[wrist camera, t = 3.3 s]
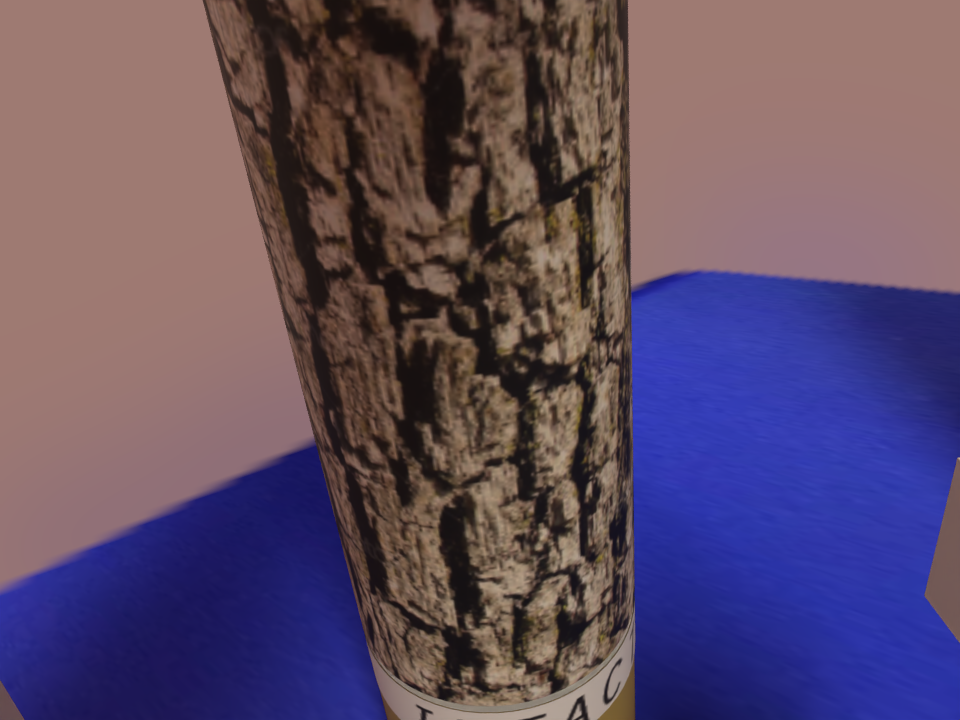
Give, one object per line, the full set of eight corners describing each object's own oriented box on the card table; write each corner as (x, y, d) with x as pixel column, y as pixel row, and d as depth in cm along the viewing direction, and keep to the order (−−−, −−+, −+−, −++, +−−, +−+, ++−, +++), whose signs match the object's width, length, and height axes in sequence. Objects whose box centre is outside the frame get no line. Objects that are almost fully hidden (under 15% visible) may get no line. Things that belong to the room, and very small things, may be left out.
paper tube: (367, 690, 28) (94, -332, 14) (565, 608, 30) (495, -366, 16) (449, 900, 23) (138, -412, 9) (684, 783, 24) (732, -451, 11)
